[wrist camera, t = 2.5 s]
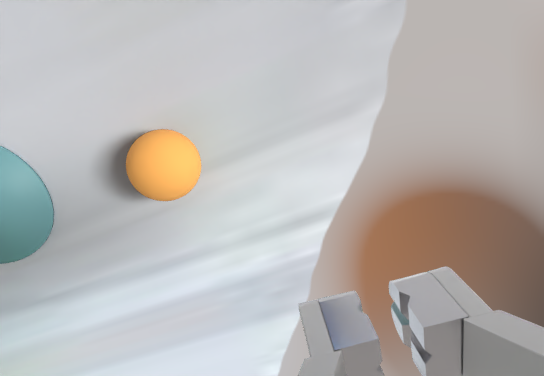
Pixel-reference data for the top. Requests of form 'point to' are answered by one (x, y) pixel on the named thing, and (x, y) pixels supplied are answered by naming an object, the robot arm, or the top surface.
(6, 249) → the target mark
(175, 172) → the ball
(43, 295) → the top surface
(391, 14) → the top surface
